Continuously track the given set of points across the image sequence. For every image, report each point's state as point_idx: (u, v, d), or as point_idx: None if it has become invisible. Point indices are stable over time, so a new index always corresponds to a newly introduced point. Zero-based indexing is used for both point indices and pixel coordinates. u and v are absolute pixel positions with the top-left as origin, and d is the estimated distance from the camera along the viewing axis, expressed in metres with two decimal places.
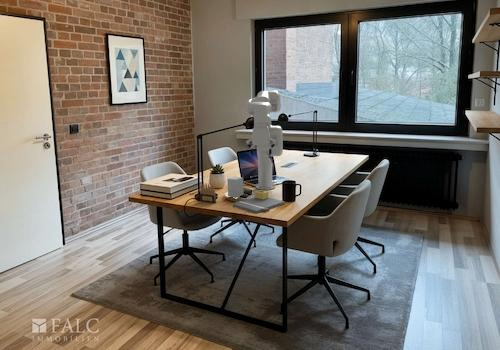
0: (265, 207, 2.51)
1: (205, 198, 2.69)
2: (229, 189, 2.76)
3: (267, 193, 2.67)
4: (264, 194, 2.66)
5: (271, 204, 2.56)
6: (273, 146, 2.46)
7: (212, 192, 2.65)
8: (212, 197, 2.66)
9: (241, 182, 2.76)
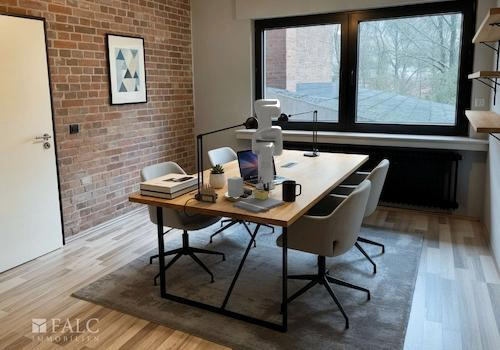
0: (265, 207, 2.51)
1: (205, 198, 2.69)
2: (229, 189, 2.76)
3: (267, 193, 2.67)
4: (264, 194, 2.65)
5: (271, 204, 2.56)
6: (270, 184, 2.72)
7: (212, 192, 2.65)
8: (212, 197, 2.66)
9: (241, 182, 2.76)
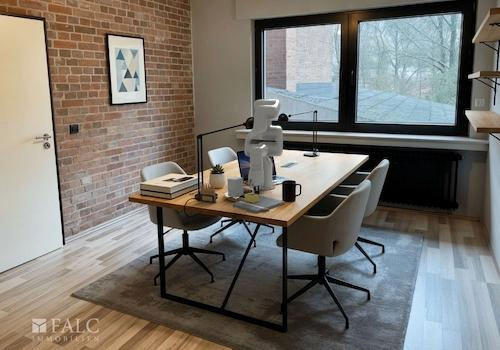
0: (265, 207, 2.51)
1: (205, 198, 2.69)
2: (229, 189, 2.76)
3: (257, 196, 2.61)
4: (254, 197, 2.60)
5: (271, 204, 2.56)
6: (260, 187, 2.66)
7: (212, 192, 2.65)
8: (212, 197, 2.66)
9: (241, 182, 2.76)
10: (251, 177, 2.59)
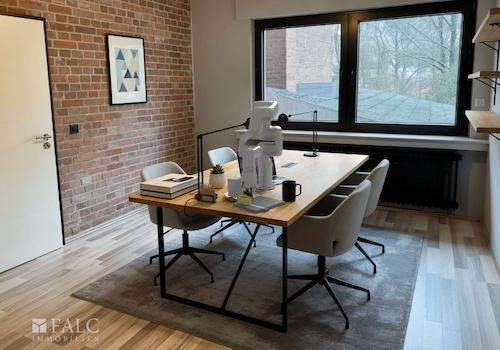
0: (265, 207, 2.51)
1: (205, 198, 2.69)
2: (229, 189, 2.76)
3: (250, 198, 2.57)
4: (247, 199, 2.55)
5: (271, 204, 2.56)
6: (253, 189, 2.62)
7: (212, 192, 2.65)
8: (212, 197, 2.66)
9: None
10: (244, 179, 2.55)
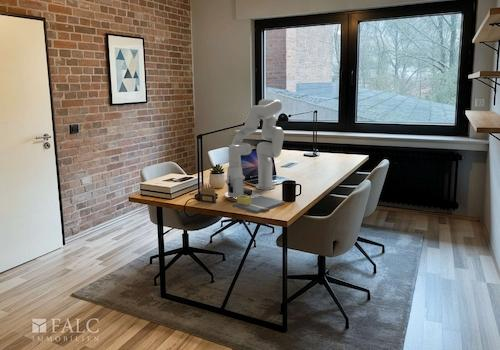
0: (265, 207, 2.51)
1: (205, 198, 2.69)
2: None
3: (250, 198, 2.57)
4: (247, 199, 2.55)
5: (271, 204, 2.56)
6: (243, 181, 2.80)
7: (212, 192, 2.65)
8: (212, 197, 2.66)
9: (241, 182, 2.76)
10: (229, 174, 2.71)
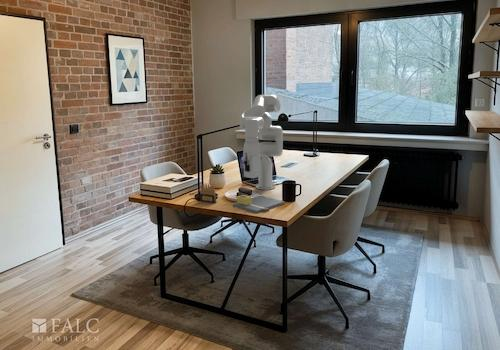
0: (265, 207, 2.51)
1: (205, 198, 2.69)
2: None
3: (250, 198, 2.57)
4: (247, 199, 2.55)
5: (271, 204, 2.56)
6: None
7: (212, 192, 2.65)
8: (212, 197, 2.66)
9: (258, 160, 2.51)
10: (246, 150, 2.47)
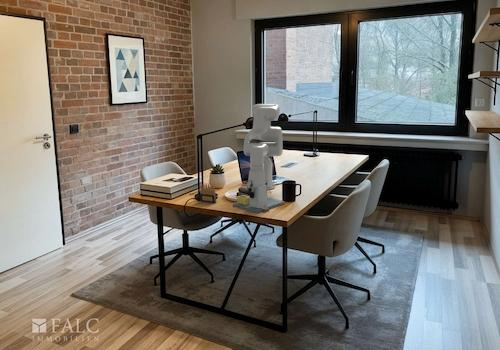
0: (265, 207, 2.51)
1: (205, 198, 2.69)
2: (251, 198, 2.51)
3: None
4: (247, 199, 2.55)
5: (271, 204, 2.56)
6: (266, 185, 2.55)
7: (212, 192, 2.65)
8: (212, 197, 2.66)
9: (264, 190, 2.50)
10: (251, 178, 2.45)
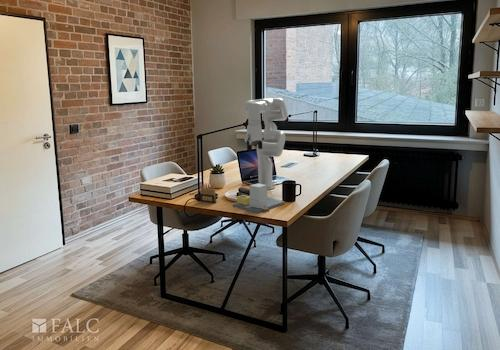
0: (265, 207, 2.51)
1: (205, 198, 2.69)
2: (251, 198, 2.51)
3: None
4: (247, 199, 2.55)
5: (271, 204, 2.56)
6: (263, 140, 2.75)
7: (212, 192, 2.65)
8: (212, 197, 2.66)
9: (265, 190, 2.50)
10: (249, 132, 2.65)
